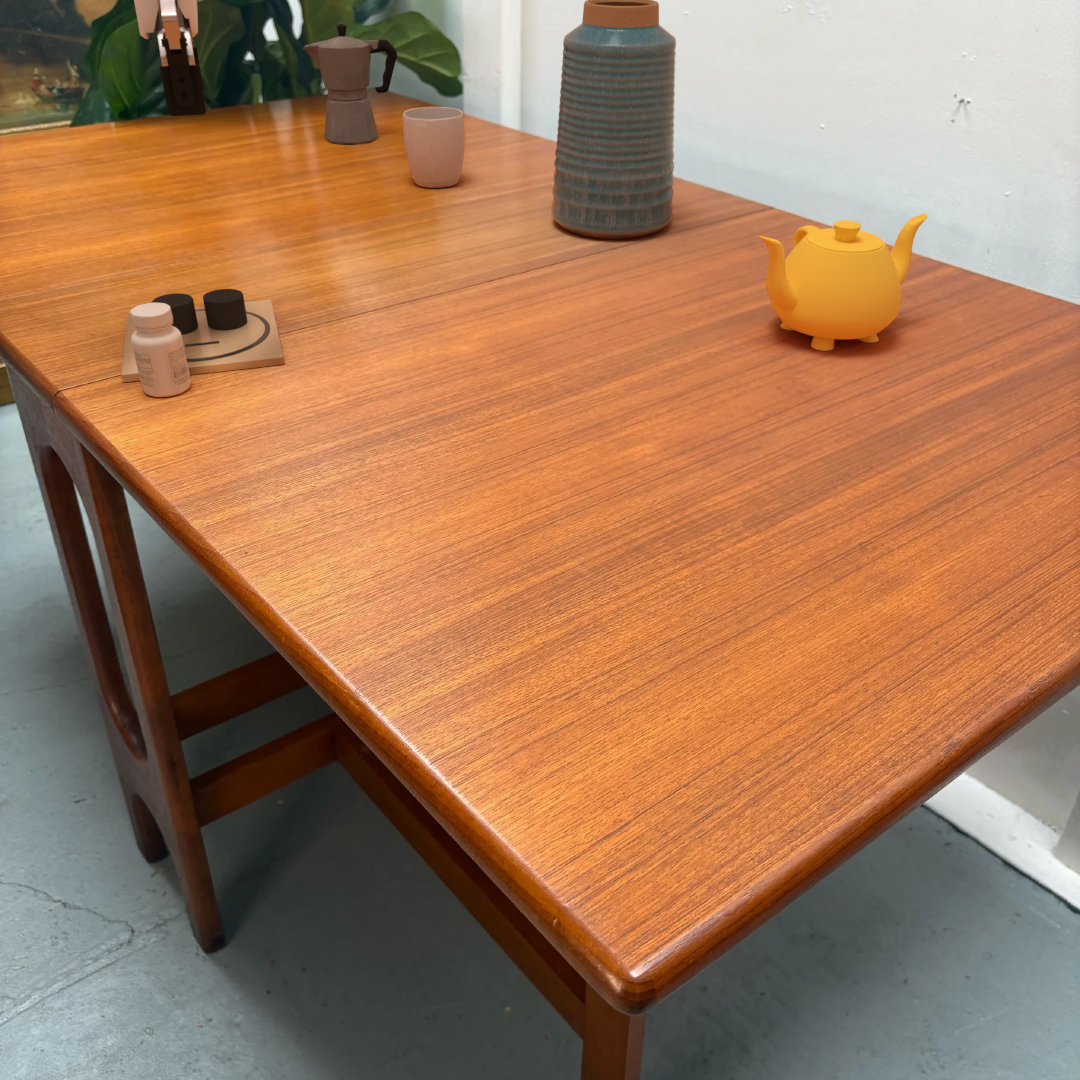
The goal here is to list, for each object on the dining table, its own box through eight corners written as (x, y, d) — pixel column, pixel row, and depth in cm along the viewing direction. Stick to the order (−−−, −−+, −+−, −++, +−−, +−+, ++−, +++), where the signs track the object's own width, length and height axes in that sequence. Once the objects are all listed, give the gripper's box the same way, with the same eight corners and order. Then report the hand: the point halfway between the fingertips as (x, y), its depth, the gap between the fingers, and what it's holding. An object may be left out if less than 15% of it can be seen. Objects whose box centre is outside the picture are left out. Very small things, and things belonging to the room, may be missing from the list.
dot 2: (208, 332, 104) (203, 304, 102) (207, 318, 107) (202, 290, 105) (248, 328, 105) (244, 300, 103) (246, 314, 108) (241, 286, 106)
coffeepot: (310, 145, 173) (297, 28, 163) (316, 132, 181) (303, 20, 171) (401, 144, 174) (394, 27, 164) (403, 131, 182) (395, 19, 172)
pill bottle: (191, 375, 97) (175, 297, 93) (192, 395, 94) (176, 315, 90) (142, 381, 96) (124, 302, 92) (142, 401, 93) (123, 320, 88)
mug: (475, 186, 153) (473, 115, 147) (419, 193, 149) (414, 121, 144) (443, 167, 162) (440, 99, 156) (390, 173, 159) (385, 104, 153)
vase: (545, 239, 132) (547, 8, 117) (557, 203, 146) (560, -8, 131) (671, 244, 131) (689, 11, 116) (672, 208, 144) (688, -5, 129)
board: (122, 382, 96) (120, 372, 95) (128, 320, 109) (126, 310, 108) (284, 364, 100) (283, 354, 99) (272, 306, 112) (270, 296, 112)
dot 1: (157, 337, 103) (151, 309, 101) (158, 323, 106) (152, 295, 104) (198, 333, 104) (193, 305, 102) (198, 319, 107) (192, 291, 105)
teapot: (857, 293, 117) (877, 191, 110) (946, 341, 105) (974, 230, 99) (705, 317, 110) (716, 210, 104) (782, 371, 99) (800, 255, 92)
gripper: (105, -120, 90) (146, 88, 100) (93, -114, 76) (142, 126, 86) (193, -120, 92) (225, 84, 102) (197, -115, 78) (233, 121, 88)
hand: (187, 103), depth 94 cm, fingers open, 9 cm apart
